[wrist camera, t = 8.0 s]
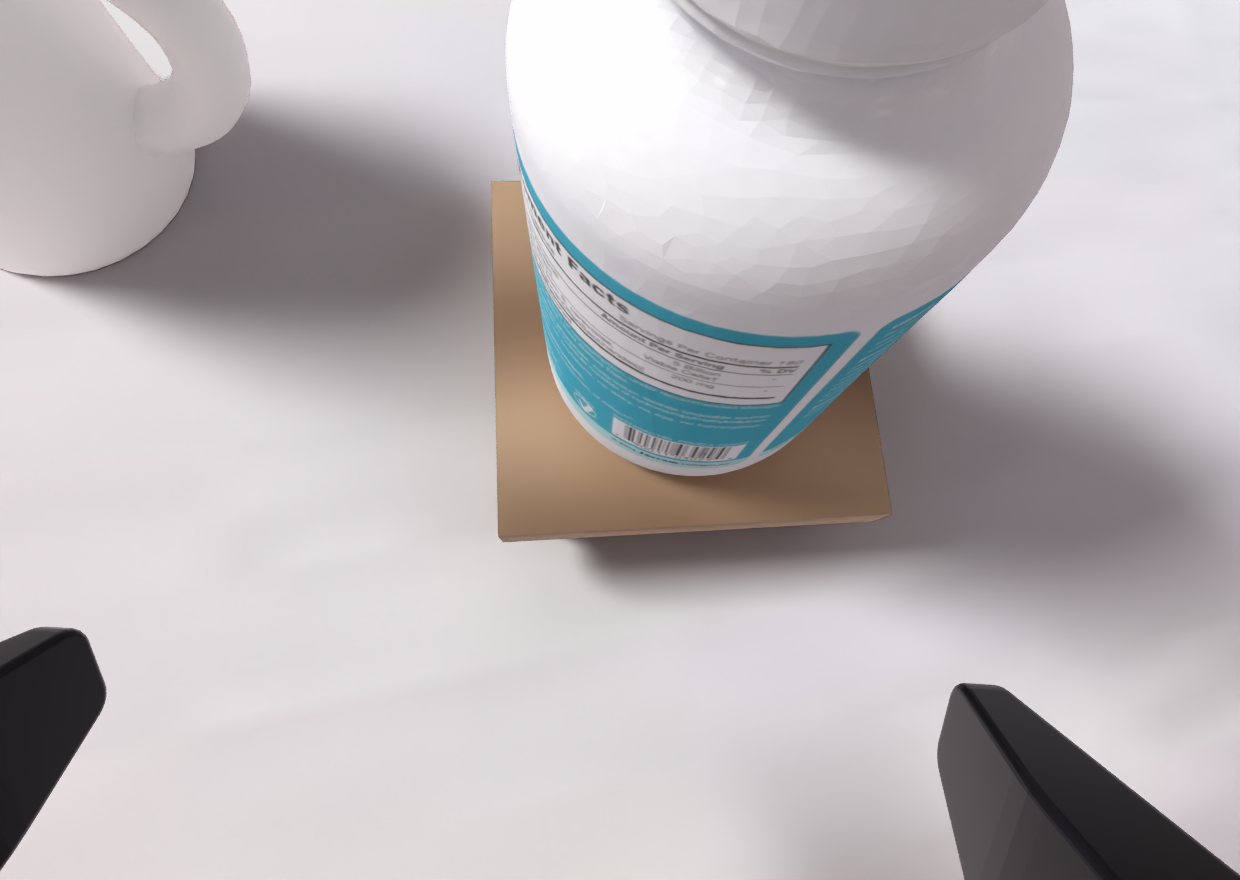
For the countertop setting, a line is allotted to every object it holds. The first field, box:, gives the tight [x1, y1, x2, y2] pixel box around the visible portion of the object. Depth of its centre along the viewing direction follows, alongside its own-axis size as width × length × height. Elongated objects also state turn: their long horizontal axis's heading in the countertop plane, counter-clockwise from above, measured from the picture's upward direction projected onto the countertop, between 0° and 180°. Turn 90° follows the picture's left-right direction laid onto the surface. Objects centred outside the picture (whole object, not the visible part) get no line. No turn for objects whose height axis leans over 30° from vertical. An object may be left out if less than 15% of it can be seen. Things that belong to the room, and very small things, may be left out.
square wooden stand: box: [491, 181, 892, 542], centre depth 21 cm, size 10×10×4 cm
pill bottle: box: [506, 0, 1074, 476], centre depth 13 cm, size 8×7×14 cm
